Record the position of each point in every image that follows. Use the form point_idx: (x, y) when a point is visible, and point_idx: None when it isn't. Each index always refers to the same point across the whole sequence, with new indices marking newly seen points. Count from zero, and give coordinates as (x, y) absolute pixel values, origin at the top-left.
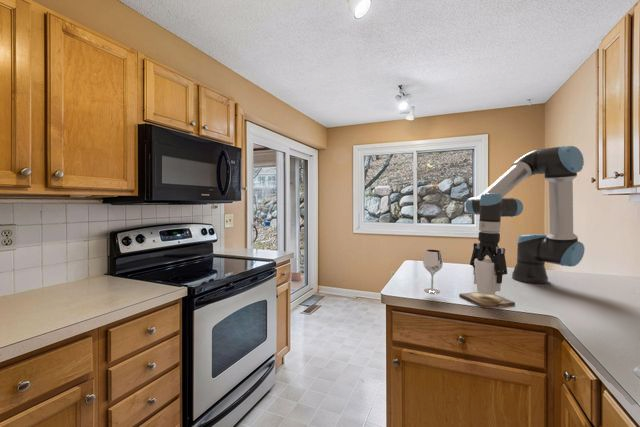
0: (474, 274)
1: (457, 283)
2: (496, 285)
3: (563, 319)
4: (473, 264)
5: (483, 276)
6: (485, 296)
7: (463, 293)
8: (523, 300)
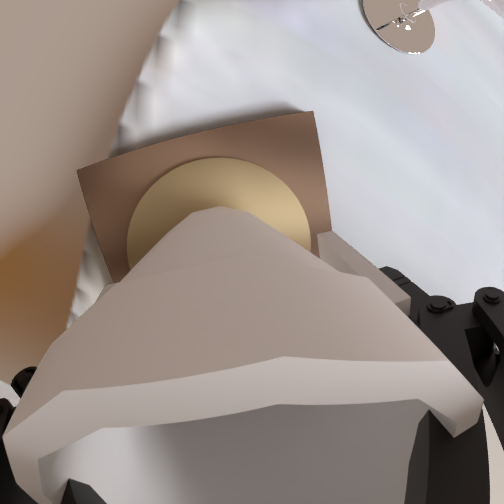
0: (368, 263)
1: (486, 239)
2: None
3: None
4: (468, 320)
5: (132, 271)
6: None
7: (316, 142)
8: None
